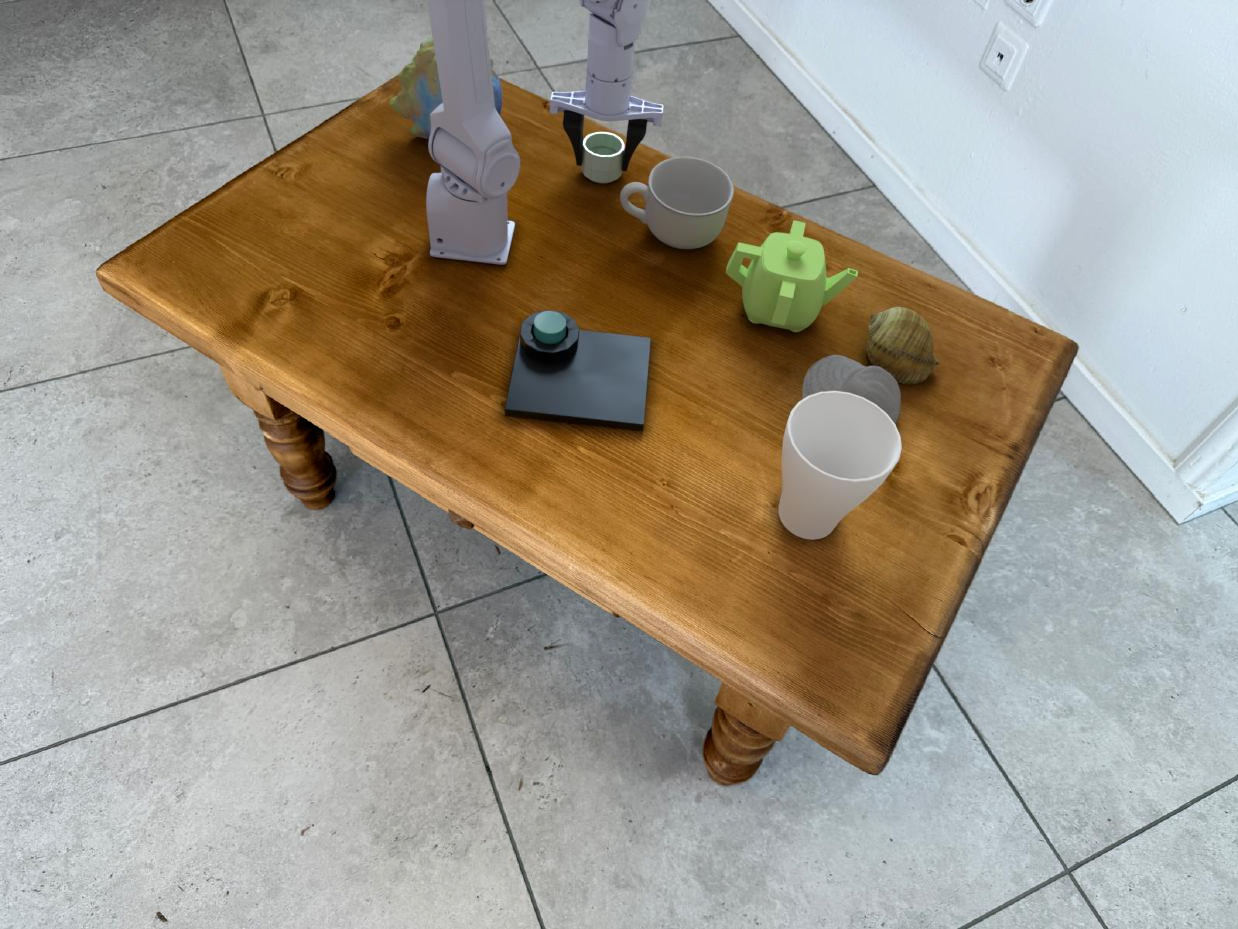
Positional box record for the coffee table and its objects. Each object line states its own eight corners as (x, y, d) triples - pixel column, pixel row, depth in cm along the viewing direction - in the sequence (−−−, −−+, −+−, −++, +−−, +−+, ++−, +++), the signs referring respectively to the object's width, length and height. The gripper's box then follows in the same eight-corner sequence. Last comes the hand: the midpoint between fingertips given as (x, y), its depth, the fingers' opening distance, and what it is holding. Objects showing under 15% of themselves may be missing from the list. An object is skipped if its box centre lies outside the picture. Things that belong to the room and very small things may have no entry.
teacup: (724, 213, 119) (735, 161, 112) (722, 267, 112) (733, 215, 106) (621, 200, 119) (626, 147, 112) (613, 253, 112) (618, 201, 106)
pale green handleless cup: (579, 183, 120) (580, 154, 116) (583, 158, 123) (585, 129, 120) (620, 187, 120) (622, 159, 116) (623, 162, 123) (626, 134, 120)
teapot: (769, 355, 104) (789, 293, 96) (711, 295, 109) (726, 231, 101) (843, 322, 108) (868, 260, 100) (785, 265, 113) (804, 202, 105)
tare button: (531, 342, 98) (531, 331, 97) (535, 320, 100) (536, 308, 99) (563, 346, 98) (564, 335, 97) (567, 323, 101) (568, 312, 99)
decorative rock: (467, 59, 107) (498, 5, 117) (352, 76, 112) (390, 23, 121) (503, 162, 118) (528, 104, 127) (396, 174, 122) (428, 117, 131)
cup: (831, 465, 95) (870, 382, 84) (875, 547, 89) (922, 469, 78) (741, 483, 92) (769, 400, 82) (779, 569, 87) (815, 492, 76)
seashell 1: (795, 372, 102) (788, 429, 95) (816, 336, 98) (810, 393, 91) (888, 406, 103) (888, 465, 96) (912, 372, 99) (914, 431, 92)
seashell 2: (914, 391, 108) (953, 334, 105) (921, 400, 101) (963, 339, 99) (845, 350, 108) (882, 293, 106) (847, 356, 102) (887, 295, 99)
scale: (504, 416, 95) (504, 398, 93) (523, 325, 103) (522, 307, 101) (643, 431, 96) (645, 414, 93) (650, 340, 104) (653, 321, 101)
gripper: (669, 59, 112) (656, 152, 123) (555, 45, 112) (553, 140, 123) (666, 90, 108) (654, 183, 119) (548, 76, 108) (546, 171, 119)
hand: (602, 164), depth 121 cm, fingers closed on pale green handleless cup, 5 cm apart
